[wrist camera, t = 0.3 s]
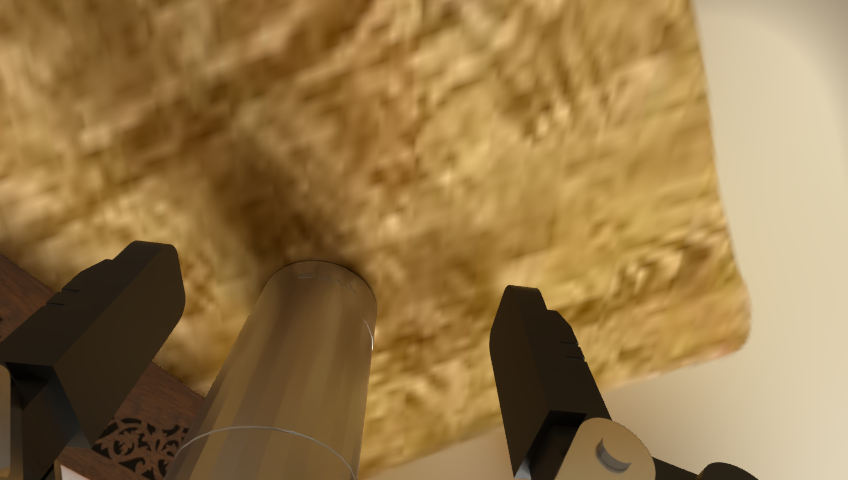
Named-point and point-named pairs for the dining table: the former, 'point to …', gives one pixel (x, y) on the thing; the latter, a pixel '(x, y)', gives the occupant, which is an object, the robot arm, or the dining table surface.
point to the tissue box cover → (135, 419)
